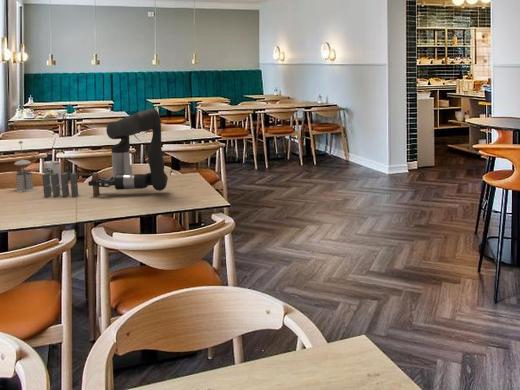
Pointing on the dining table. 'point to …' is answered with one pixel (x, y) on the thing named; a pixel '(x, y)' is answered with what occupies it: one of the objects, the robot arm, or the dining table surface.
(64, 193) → the charcoal tile
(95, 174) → the walnut tile
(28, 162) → the french press
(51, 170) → the syrup box
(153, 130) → the robot arm
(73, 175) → the charcoal tile
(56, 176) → the charcoal tile
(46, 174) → the charcoal tile
